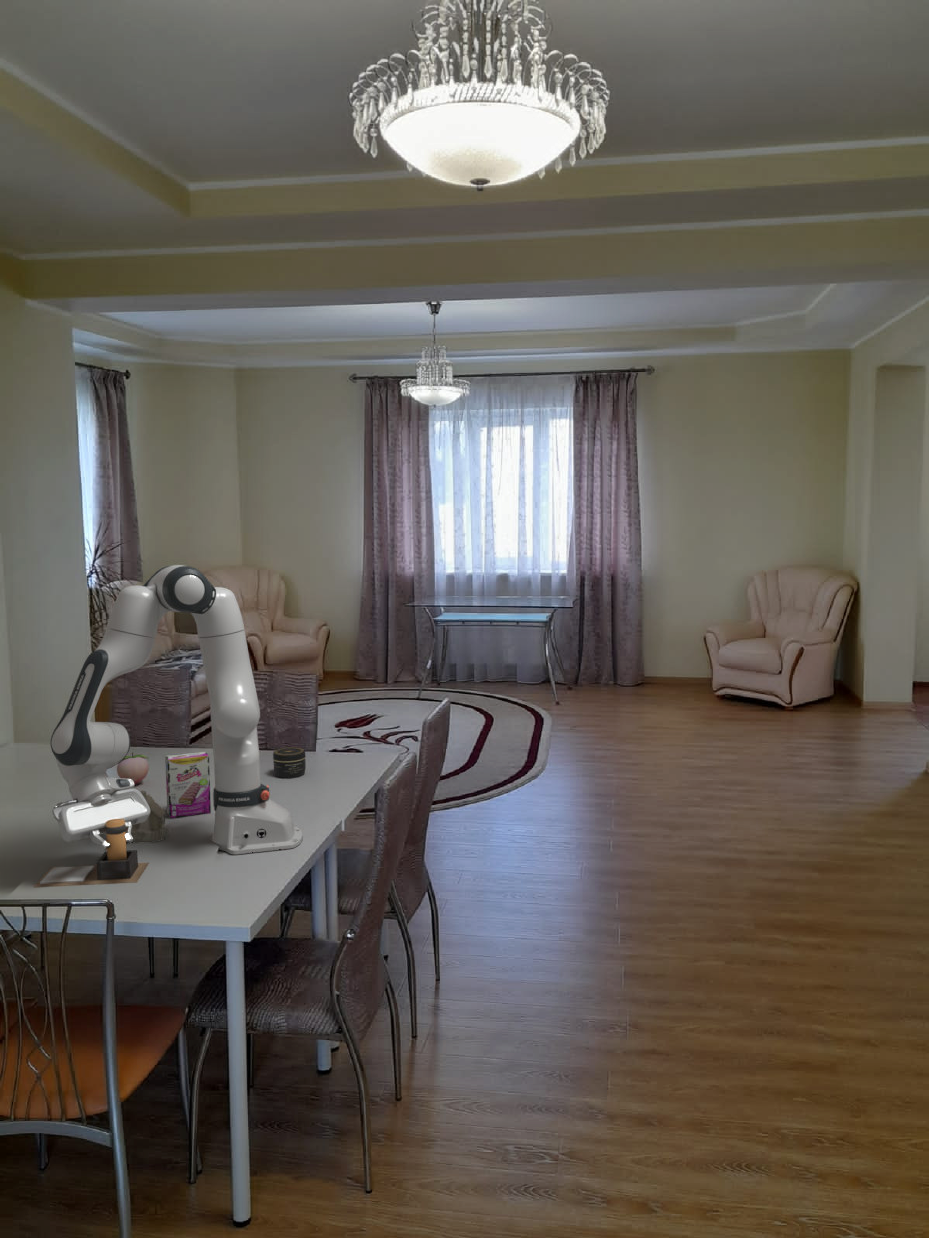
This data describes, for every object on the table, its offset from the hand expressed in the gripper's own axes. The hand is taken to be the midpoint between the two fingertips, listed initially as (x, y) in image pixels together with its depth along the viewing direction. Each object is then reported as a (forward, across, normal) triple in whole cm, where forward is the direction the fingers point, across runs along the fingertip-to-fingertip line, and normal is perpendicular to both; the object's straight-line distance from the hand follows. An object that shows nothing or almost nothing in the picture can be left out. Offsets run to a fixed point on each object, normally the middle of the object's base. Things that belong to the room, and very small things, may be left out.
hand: (117, 845), depth 218 cm
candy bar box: (-16, +37, +28) cm, 49 cm away
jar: (-23, +79, +35) cm, 89 cm away
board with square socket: (+3, -4, +9) cm, 10 cm away
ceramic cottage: (-13, +20, +25) cm, 34 cm away
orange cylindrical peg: (+4, 0, +5) cm, 7 cm away
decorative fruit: (-42, +42, +54) cm, 80 cm away
